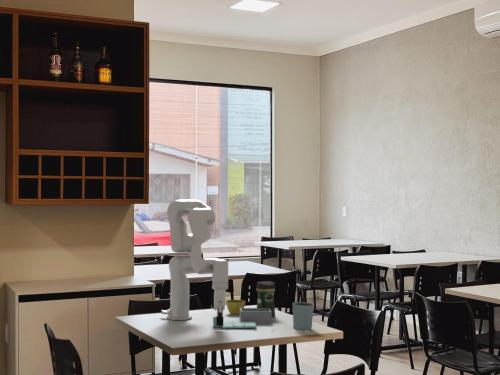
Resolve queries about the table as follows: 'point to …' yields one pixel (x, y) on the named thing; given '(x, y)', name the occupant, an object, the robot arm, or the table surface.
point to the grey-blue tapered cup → (302, 315)
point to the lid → (234, 324)
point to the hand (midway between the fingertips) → (219, 324)
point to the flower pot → (235, 306)
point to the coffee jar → (266, 295)
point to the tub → (256, 315)
